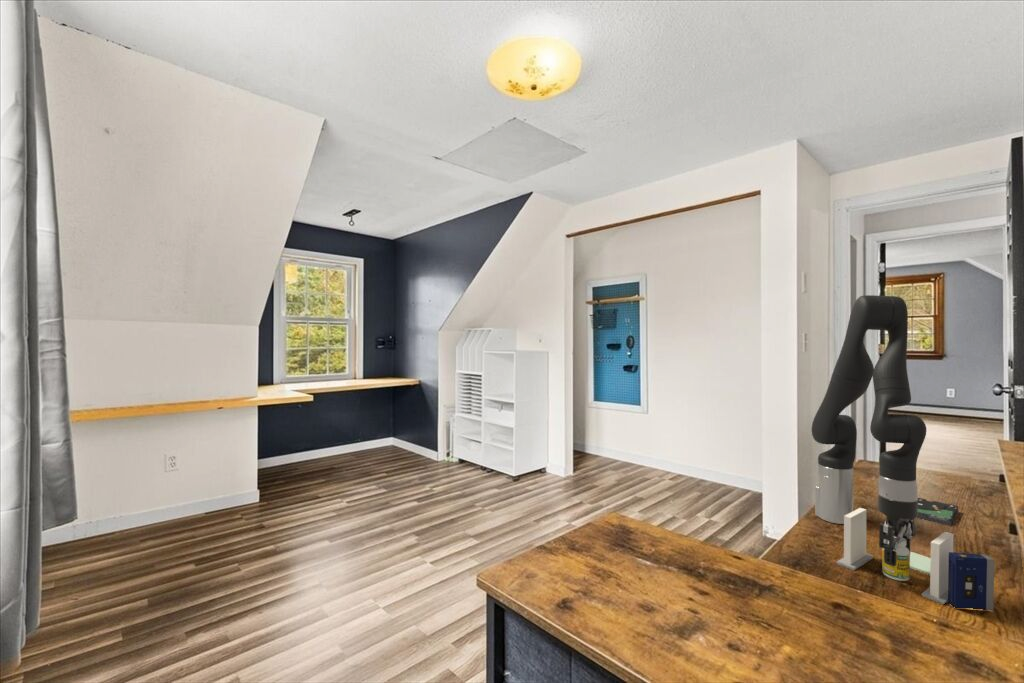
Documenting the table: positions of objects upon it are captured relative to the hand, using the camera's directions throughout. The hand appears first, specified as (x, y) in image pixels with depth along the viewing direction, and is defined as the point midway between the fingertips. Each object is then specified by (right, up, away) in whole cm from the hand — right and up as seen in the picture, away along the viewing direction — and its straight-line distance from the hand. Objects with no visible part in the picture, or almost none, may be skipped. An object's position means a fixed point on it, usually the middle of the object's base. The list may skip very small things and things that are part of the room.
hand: (897, 559), depth 116 cm
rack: (0, -4, +1) cm, 4 cm away
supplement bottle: (0, -5, +1) cm, 5 cm away
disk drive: (+40, -2, +35) cm, 53 cm away
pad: (+11, -4, +5) cm, 12 cm away
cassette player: (+6, -5, -13) cm, 15 cm away
